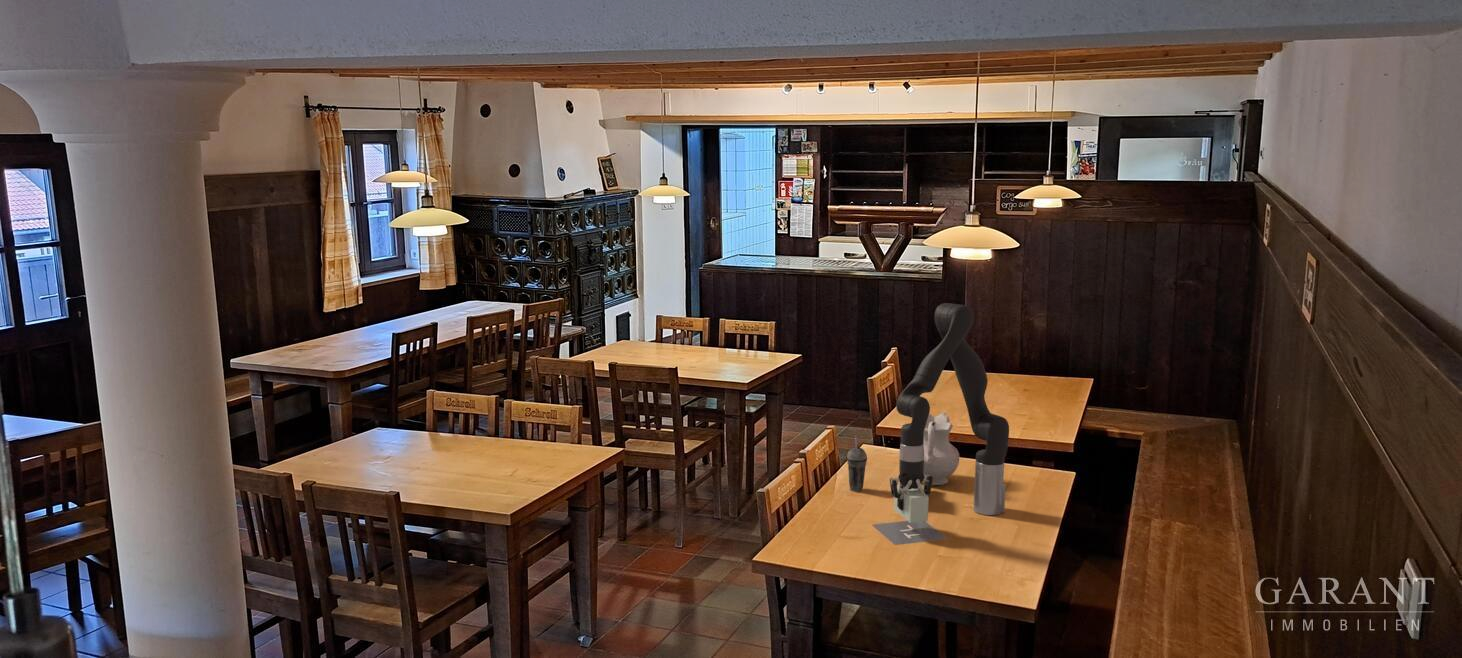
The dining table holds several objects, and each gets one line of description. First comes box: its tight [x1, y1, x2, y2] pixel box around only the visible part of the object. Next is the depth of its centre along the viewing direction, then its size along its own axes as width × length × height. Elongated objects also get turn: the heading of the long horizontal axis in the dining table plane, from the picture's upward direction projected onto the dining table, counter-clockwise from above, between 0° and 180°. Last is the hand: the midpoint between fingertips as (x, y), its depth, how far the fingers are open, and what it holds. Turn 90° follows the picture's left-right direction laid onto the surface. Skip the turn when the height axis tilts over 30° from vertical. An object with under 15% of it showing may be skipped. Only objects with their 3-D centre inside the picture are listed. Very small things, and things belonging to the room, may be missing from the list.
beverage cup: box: [846, 435, 868, 493], centre depth 370 cm, size 7×7×20 cm
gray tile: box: [871, 520, 948, 546], centre depth 331 cm, size 18×18×1 cm
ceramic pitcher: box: [922, 411, 960, 486], centre depth 379 cm, size 22×20×25 cm
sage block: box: [893, 484, 929, 523], centre depth 330 cm, size 6×12×8 cm, turn 16°
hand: (910, 508), depth 330 cm, fingers closed on sage block, 6 cm apart
